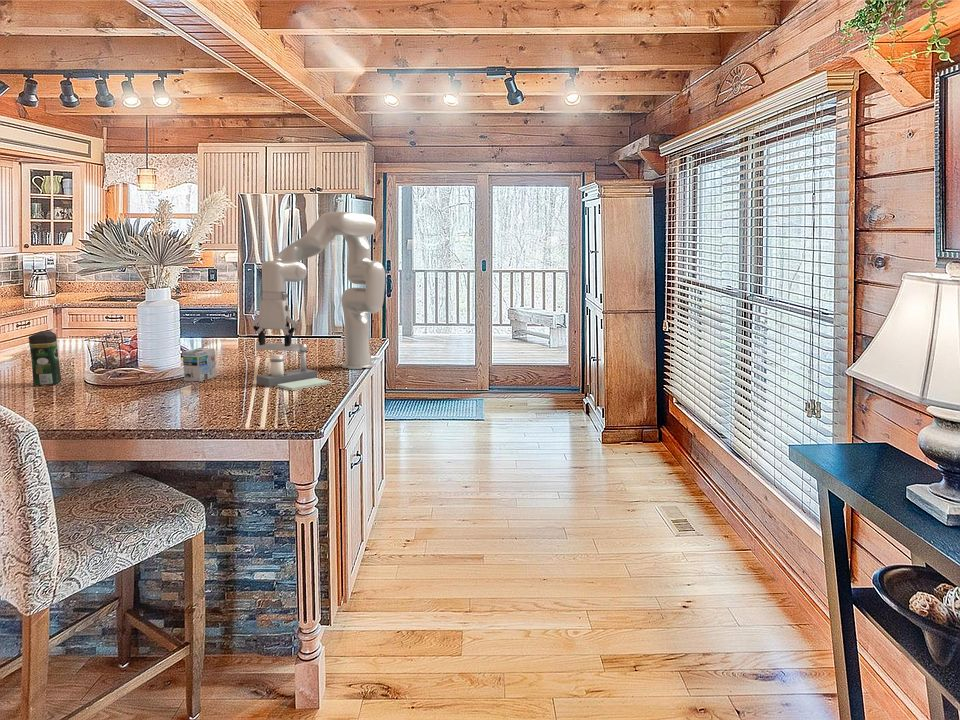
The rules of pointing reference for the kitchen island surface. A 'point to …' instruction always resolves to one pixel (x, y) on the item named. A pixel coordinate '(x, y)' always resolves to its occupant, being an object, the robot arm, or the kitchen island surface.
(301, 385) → the mat
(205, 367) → the light bulb box
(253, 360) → the kitchen island surface
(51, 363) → the coffee jar
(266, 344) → the silver metal bar
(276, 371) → the plug
